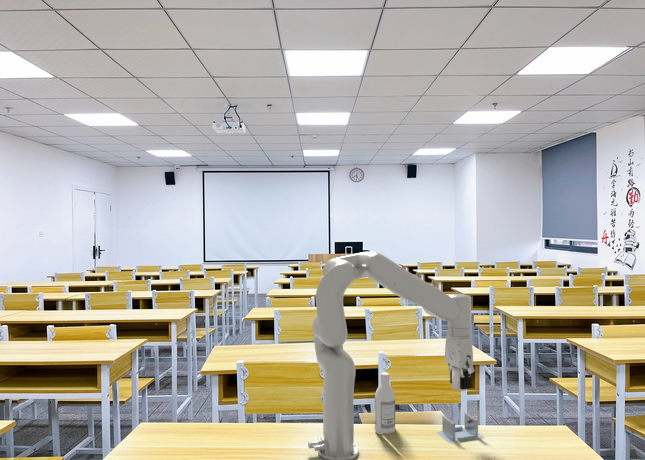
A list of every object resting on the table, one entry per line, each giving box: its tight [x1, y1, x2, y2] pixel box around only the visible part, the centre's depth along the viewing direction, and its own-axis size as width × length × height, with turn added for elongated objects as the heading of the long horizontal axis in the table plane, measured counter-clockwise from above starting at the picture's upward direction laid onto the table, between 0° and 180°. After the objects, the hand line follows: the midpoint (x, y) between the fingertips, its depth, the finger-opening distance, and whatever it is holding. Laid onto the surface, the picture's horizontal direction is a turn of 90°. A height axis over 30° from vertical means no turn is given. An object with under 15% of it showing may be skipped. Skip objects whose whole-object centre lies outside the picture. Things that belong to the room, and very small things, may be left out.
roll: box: [451, 366, 469, 392], centre depth 148 cm, size 5×5×7 cm
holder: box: [436, 425, 485, 444], centre depth 147 cm, size 13×8×2 cm, turn 107°
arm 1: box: [441, 415, 456, 441], centre depth 146 cm, size 2×6×6 cm, turn 17°
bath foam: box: [374, 371, 396, 436], centre depth 152 cm, size 7×7×20 cm
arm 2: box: [464, 412, 479, 437], centre depth 148 cm, size 2×6×6 cm, turn 17°
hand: (459, 385), depth 148 cm, fingers closed on roll, 5 cm apart
